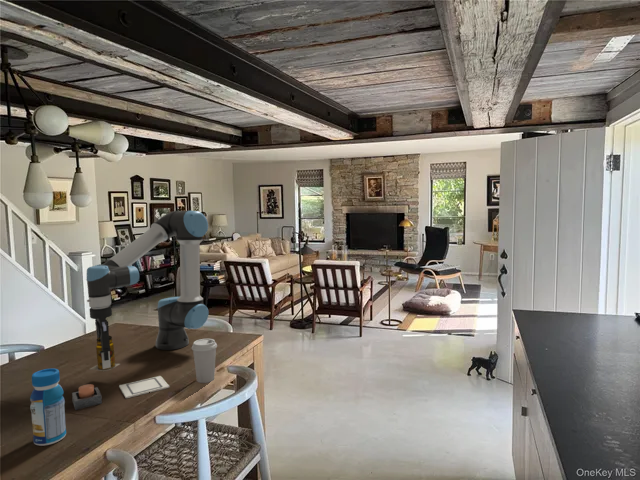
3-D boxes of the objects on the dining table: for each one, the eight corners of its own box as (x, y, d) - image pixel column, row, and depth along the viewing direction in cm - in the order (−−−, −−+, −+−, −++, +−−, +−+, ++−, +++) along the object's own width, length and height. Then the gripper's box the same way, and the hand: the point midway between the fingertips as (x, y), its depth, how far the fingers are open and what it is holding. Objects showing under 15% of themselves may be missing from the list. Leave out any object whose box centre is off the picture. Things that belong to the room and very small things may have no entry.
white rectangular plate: (160, 377, 170) (160, 375, 170) (169, 387, 161) (169, 385, 160) (119, 387, 162) (119, 385, 162) (125, 398, 152) (125, 396, 152)
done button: (93, 391, 152) (92, 383, 152) (95, 395, 149) (94, 387, 148) (78, 394, 150) (77, 386, 150) (79, 399, 146) (79, 390, 146)
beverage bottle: (62, 444, 123) (57, 376, 122) (28, 449, 121) (23, 379, 119) (70, 429, 131) (66, 365, 130) (38, 433, 129) (33, 368, 127)
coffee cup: (208, 386, 161) (207, 346, 160) (187, 382, 165) (185, 344, 163) (223, 376, 170) (221, 339, 169) (202, 373, 174) (201, 336, 172)
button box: (98, 395, 155) (97, 387, 155) (101, 403, 148) (101, 394, 148) (72, 401, 150) (72, 392, 150) (75, 410, 144) (74, 401, 144)
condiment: (106, 371, 163) (104, 340, 162) (89, 369, 166) (86, 339, 164) (121, 364, 170) (118, 334, 169) (103, 362, 173) (101, 333, 171)
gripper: (85, 303, 170) (90, 360, 173) (93, 313, 155) (98, 375, 157) (106, 300, 174) (111, 355, 177) (115, 309, 159) (120, 370, 161)
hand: (105, 365), depth 167 cm, fingers closed on condiment, 6 cm apart
